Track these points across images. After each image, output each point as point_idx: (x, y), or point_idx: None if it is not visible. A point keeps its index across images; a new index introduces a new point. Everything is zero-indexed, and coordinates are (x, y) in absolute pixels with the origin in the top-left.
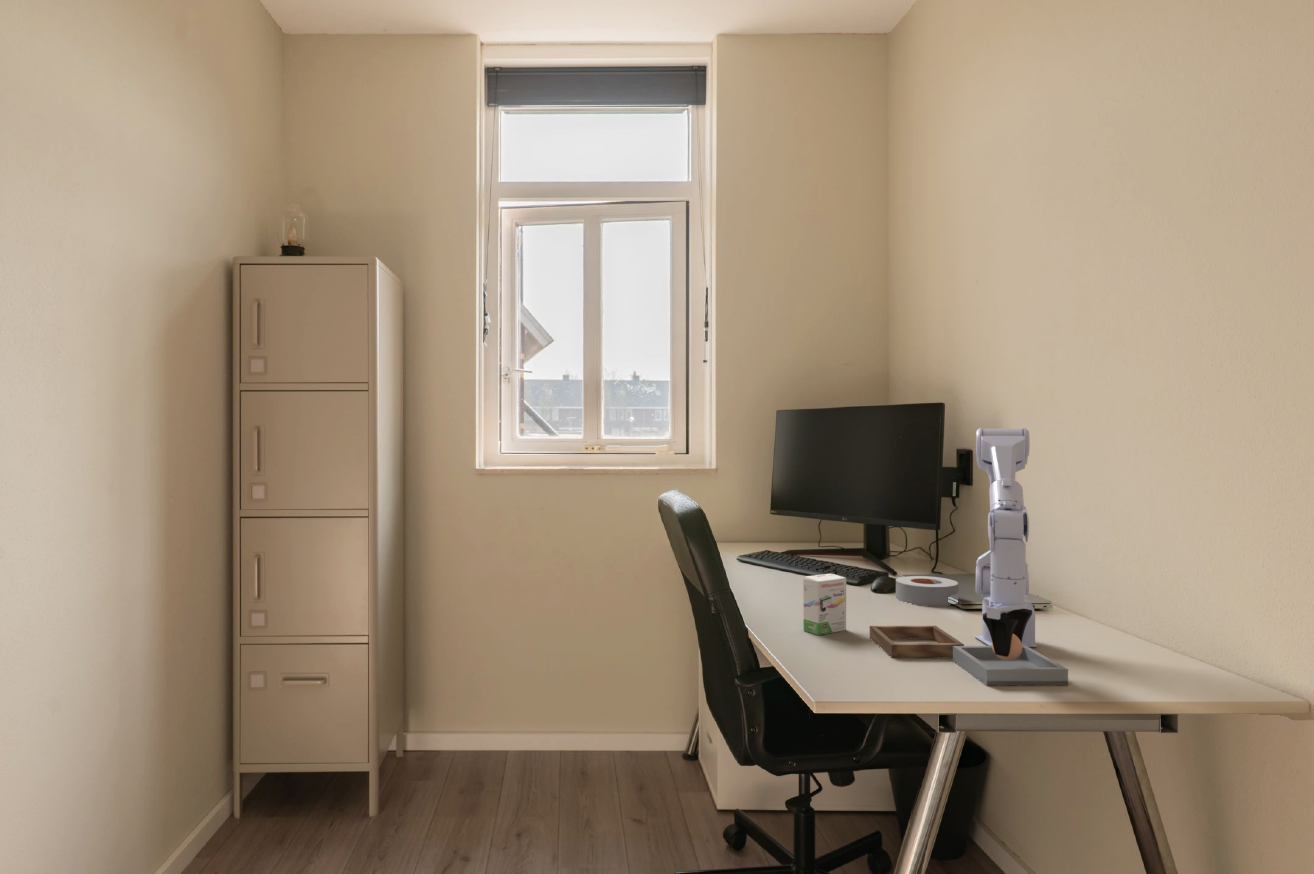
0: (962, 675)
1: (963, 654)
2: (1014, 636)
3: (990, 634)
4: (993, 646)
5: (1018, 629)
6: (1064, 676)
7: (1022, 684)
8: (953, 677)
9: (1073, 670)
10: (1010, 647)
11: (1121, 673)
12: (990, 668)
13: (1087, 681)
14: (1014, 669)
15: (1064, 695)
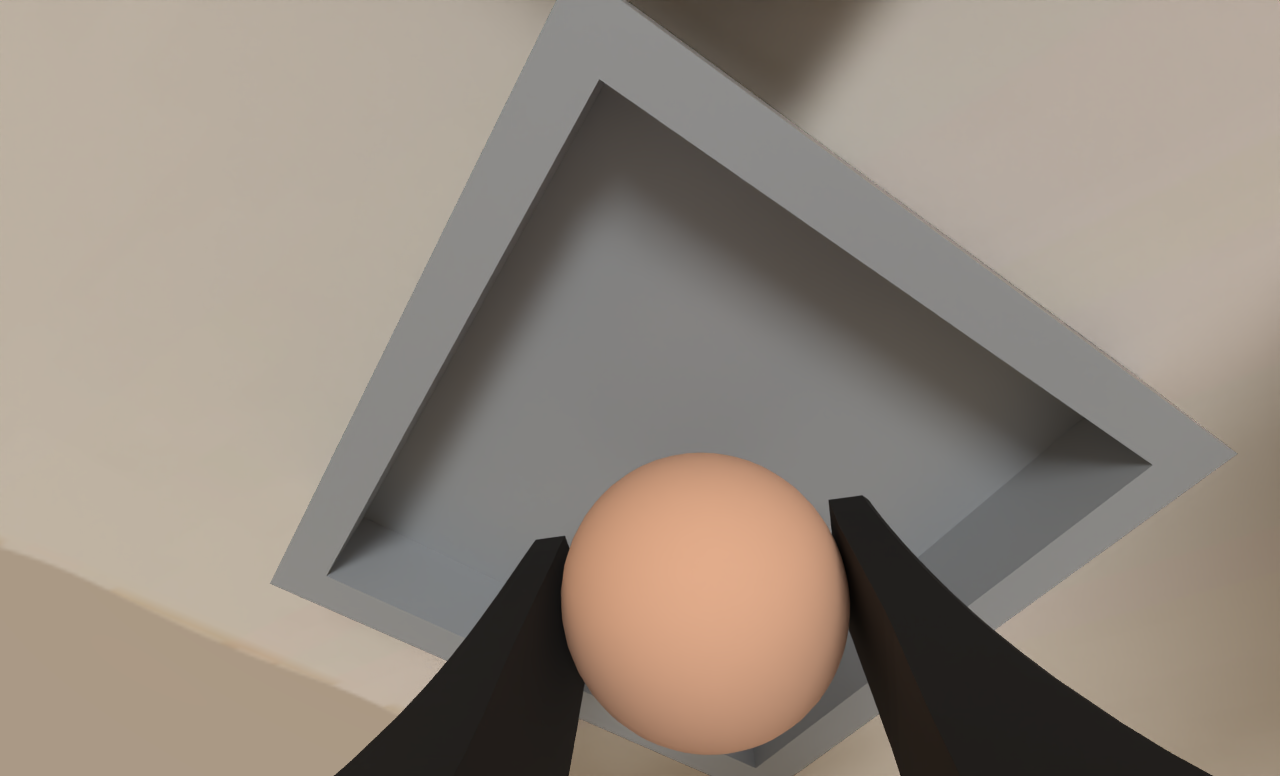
0: (336, 305)
1: (435, 248)
2: (702, 754)
3: (425, 687)
4: (505, 583)
5: (907, 766)
6: None
7: None
8: (232, 294)
9: (1091, 633)
10: (579, 690)
11: (1209, 762)
12: (316, 585)
13: None
14: None
15: (587, 739)
